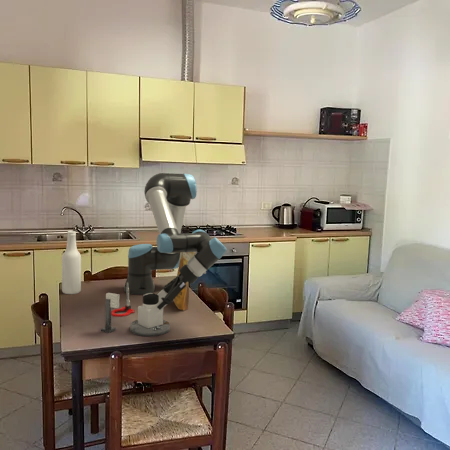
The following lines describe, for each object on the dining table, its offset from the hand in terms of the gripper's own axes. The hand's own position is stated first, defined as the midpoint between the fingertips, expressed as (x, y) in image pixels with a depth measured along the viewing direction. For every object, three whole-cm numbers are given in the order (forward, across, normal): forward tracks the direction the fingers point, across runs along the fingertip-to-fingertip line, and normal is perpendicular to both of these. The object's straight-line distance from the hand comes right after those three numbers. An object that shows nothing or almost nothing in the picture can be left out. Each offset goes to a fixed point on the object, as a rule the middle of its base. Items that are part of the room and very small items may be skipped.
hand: (152, 308), depth 181 cm
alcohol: (+35, +53, +23) cm, 67 cm away
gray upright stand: (+18, -1, +6) cm, 19 cm away
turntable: (+7, 0, -6) cm, 9 cm away
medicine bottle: (+5, 0, -4) cm, 7 cm away
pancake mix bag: (-3, +32, -15) cm, 35 cm away
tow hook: (+16, +20, +3) cm, 26 cm away
